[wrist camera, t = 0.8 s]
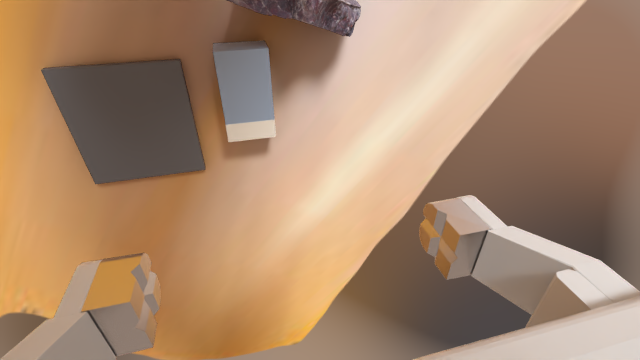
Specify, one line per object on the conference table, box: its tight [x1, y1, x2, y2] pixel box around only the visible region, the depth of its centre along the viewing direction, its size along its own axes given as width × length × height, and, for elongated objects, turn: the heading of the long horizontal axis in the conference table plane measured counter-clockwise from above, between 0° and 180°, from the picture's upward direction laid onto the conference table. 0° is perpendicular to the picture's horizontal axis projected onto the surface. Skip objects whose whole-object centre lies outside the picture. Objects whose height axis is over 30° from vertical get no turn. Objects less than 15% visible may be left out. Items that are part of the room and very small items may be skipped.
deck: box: [213, 41, 276, 142], centre depth 41 cm, size 11×6×4 cm, turn 2°
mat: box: [41, 59, 205, 184], centre depth 42 cm, size 15×14×1 cm
